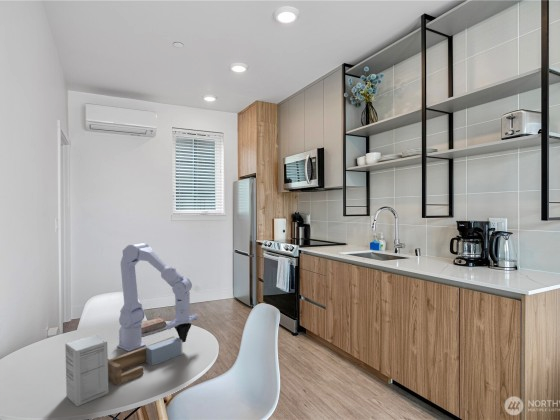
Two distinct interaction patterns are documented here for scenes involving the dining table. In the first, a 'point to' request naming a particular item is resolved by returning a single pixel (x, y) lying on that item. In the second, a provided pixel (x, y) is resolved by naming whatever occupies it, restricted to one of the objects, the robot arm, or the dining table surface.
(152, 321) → the reddish brown block
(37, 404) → the dining table surface
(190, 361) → the dining table surface
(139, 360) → the brown wooden rack
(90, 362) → the supplement box
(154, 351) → the boxed book
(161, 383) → the dining table surface
